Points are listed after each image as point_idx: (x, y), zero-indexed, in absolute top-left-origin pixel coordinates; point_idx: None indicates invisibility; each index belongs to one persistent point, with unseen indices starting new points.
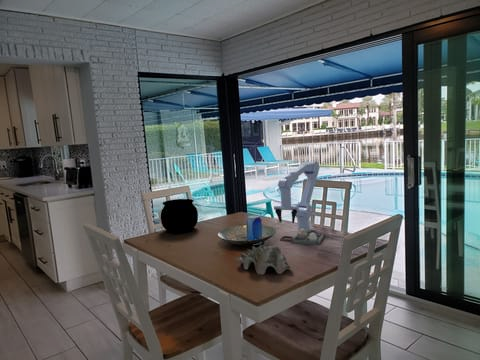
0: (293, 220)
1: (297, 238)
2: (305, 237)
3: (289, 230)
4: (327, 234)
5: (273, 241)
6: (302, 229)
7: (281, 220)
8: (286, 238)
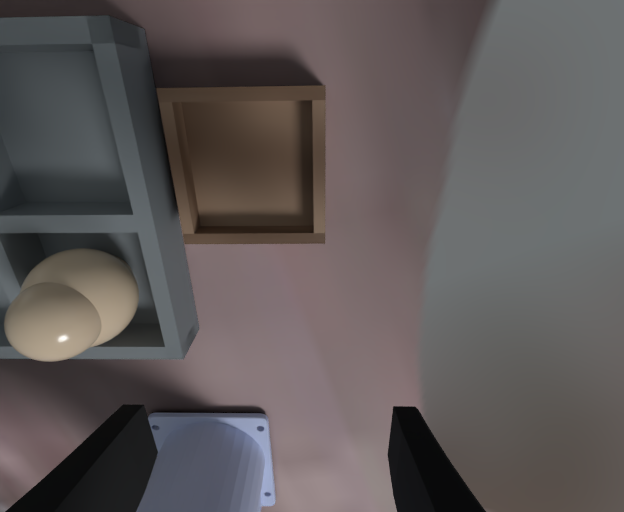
0: (76, 448)
1: (128, 206)
2: (12, 212)
3: (348, 472)
4: (6, 433)
5: (419, 108)
6: (26, 321)
7: (392, 473)
8: (272, 204)
